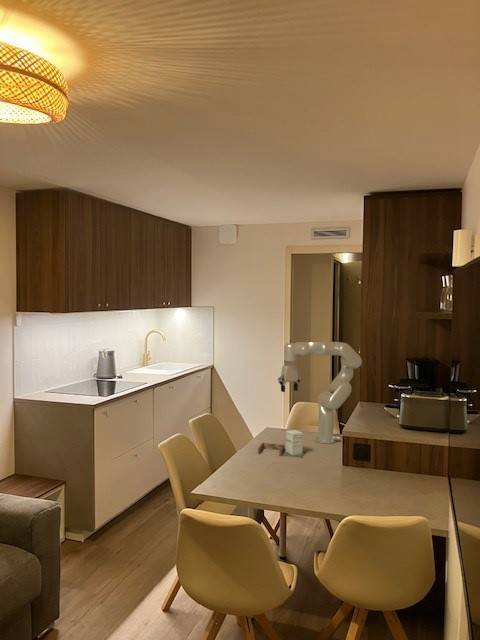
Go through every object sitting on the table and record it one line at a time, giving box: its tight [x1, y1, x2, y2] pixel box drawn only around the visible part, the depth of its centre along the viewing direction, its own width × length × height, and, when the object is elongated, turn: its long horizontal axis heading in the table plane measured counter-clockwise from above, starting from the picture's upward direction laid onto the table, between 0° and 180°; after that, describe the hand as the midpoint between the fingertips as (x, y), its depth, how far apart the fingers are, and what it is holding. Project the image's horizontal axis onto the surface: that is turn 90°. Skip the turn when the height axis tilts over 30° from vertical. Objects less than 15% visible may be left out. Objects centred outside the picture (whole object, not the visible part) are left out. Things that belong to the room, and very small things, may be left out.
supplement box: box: [285, 429, 304, 455], centre depth 310 cm, size 7×7×13 cm
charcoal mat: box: [282, 450, 306, 458], centre depth 310 cm, size 11×11×1 cm
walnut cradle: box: [257, 442, 286, 457], centre depth 313 cm, size 14×13×3 cm
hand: (289, 391), depth 328 cm, fingers open, 9 cm apart
